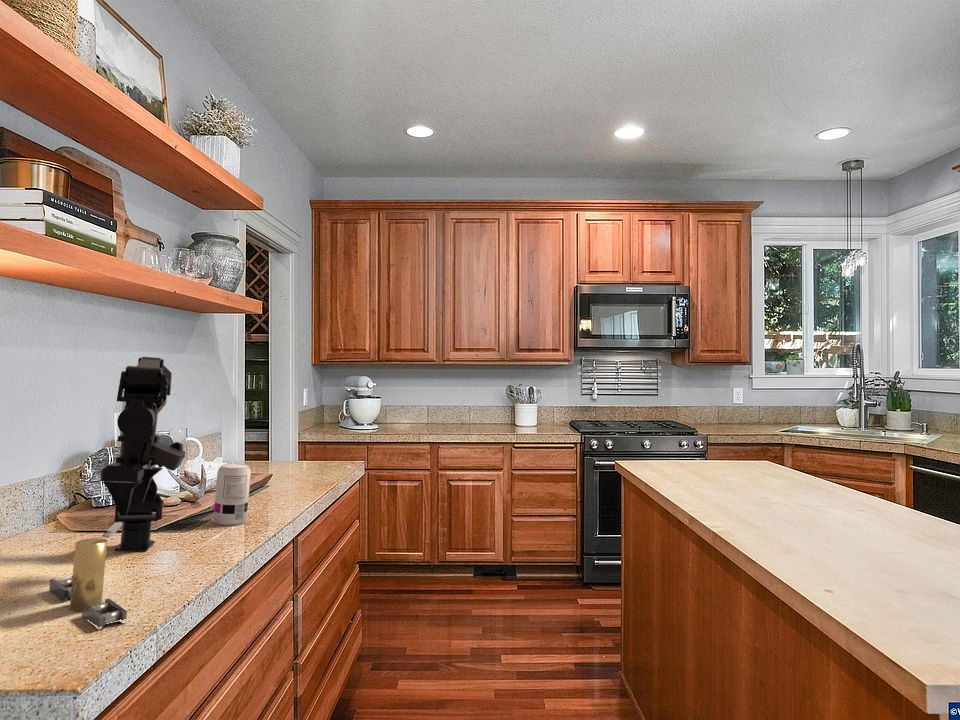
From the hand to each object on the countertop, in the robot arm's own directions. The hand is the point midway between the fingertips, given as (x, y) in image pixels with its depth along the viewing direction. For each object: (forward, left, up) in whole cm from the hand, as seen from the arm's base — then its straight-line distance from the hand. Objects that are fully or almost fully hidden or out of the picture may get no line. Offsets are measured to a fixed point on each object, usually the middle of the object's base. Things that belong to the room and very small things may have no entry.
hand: (131, 509), depth 120 cm
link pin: (+15, -1, -13) cm, 20 cm away
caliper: (-36, -12, -14) cm, 40 cm away
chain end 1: (+9, -6, -13) cm, 17 cm away
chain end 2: (+21, +3, -13) cm, 25 cm away
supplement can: (-41, +12, -13) cm, 45 cm away
